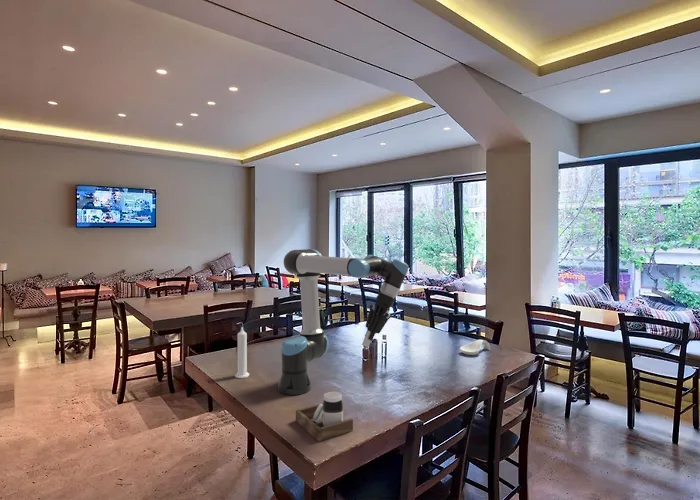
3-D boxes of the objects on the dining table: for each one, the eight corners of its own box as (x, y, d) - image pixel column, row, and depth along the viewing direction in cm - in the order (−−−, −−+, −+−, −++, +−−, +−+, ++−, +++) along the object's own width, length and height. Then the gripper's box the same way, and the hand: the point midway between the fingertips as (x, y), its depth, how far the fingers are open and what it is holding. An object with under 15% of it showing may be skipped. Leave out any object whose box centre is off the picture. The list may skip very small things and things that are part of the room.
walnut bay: (295, 420, 152) (295, 410, 152) (327, 411, 160) (327, 402, 160) (318, 441, 137) (318, 429, 136) (352, 430, 144) (352, 419, 144)
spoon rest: (472, 358, 232) (472, 346, 232) (456, 354, 242) (456, 342, 241) (495, 351, 247) (495, 340, 247) (478, 347, 256) (478, 336, 256)
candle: (240, 379, 196) (239, 329, 195) (232, 375, 200) (232, 327, 200) (252, 375, 201) (252, 326, 200) (244, 372, 206) (244, 324, 205)
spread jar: (344, 431, 144) (344, 400, 143) (312, 433, 142) (312, 401, 142) (341, 416, 155) (341, 387, 155) (312, 418, 154) (312, 388, 154)
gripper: (403, 301, 165) (380, 354, 164) (384, 293, 176) (363, 342, 175) (390, 296, 161) (367, 349, 160) (372, 288, 172) (350, 338, 170)
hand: (365, 345), depth 167 cm, fingers closed
